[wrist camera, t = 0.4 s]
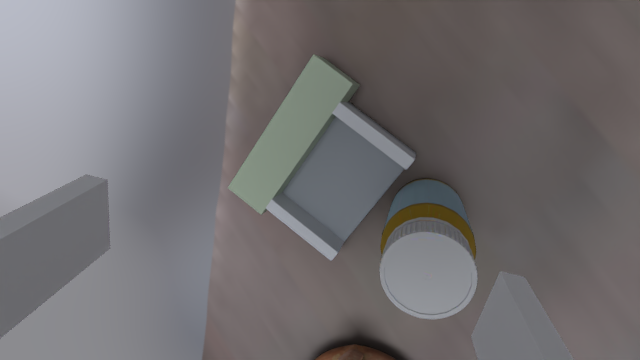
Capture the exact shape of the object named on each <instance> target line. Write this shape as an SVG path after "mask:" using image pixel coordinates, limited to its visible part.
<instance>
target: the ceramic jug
mask: <svg viewBox="0 0 640 360" xmlns="http://www.w3.org/2000/svg"><path fill="white" fill-rule="evenodd" d="M315 360H396V359H394V358H393V357H391V356H390V355H388V354H386V353H384V352H381V351H379V350H376V349H373V348H370V347H366V346H361V345H356V344H354V345H347V346H342V347H337V348H334V349H331V350H329V351H327V352H325V353H323V354H321V355H320V356H319V357H317V358H316V359H315Z"/></svg>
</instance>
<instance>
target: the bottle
mask: <svg viewBox="0 0 640 360" xmlns="http://www.w3.org/2000/svg"><path fill="white" fill-rule="evenodd" d="M381 253H382V257H381V261H380V267H379V270H380V272H379V274H380V279H381V284H382V287H383V289H384V291H385V293H386V295H387V296H388V298H389V299H390V300H391V301H392V302H393V303H394V304H395V305H396V306H397V307H398V308H399V309H401V310H402V311H404V312H406V313H408V314H410V315H412V316H415V317H419V318H423V319H441V318H445V317H449V316H451V315H453V314H456V313H457V312H459V311H460V310H462V309H463V308H464V307H465V306H466V305H467V304H468V303H469V302H470V300H471V299H472V297H473V295H474V293H475V290H476V287H477V282H478V280H477V278H478V275H477V273H478V272H477V267H476V263H475V256H476V246H475V240H474V235H473V232H472V229H471V227H470V224H469V221H468V218H467V215H466V212H465V209H464V206H463V203H462V201H461V200H460V198H459V196H458V194H457V193H456V192H455V191H454V190H453V189H452V188H451V187H450V186H449V185H447V184H445V183H443V182H441V181H439V180H434V179H419V180H415V181H412V182H410V183H408V184H406V185H405V186H403V187H402V188H401V189H400V190H399V191H398V193H397V194H396V196H395V198H394V200H393V202H392V205H391V208H390V211H389V214H388V217H387V220H386V224H385V227H384V230H383V233H382V239H381Z"/></svg>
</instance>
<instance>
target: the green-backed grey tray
mask: <svg viewBox="0 0 640 360" xmlns="http://www.w3.org/2000/svg"><path fill="white" fill-rule="evenodd" d="M359 86H360V85H359V84H358V83H357V82H355V81H354V80H353V79H351V78H350V77H349V76H347V75H346V74H345V73H343V72H342V71H341V70H339V69H338V68H337V67H335V66H334V65H333V64H331V63H330V62H329V61H327V60H326V59H325V58H322V57H319V56H317V55H314V54H313V56H312V57H311V59H310V61H309V62H308V64H307V65H306V67H305V68H304V70H303V71H302V73H301V75H300V76H299V78H298V79H297V81H296V82H295V84H294V85H293V87H292V89H291V90H290V92H289V93H288V95H287V96H286V98H285V99H284V101H283V103H282V104H281V106H280V107H279V109H278V110H277V112H276V114H275V115H274V117H273V118H272V120H271V121H270V123H269V124H268V126H267V128H266V129H265V131H264V132H263V134H262V135H261V137H260V138H259V140H258V142H257V143H256V145H255V146H254V148H253V149H252V151H251V152H250V154H249V156H248V157H247V159H246V160H245V162H244V163H243V165H242V166H241V168H240V170H239V171H238V173H237V174H236V176H235V177H234V179H233V180H232V182H231V184H230V185H229V187H228V188H229V189H230V190H231V191H232V192H234V193H235V194H236V195H237V196H238V197H240V198H241V199H242V200H243V201H245V202H246V203H247V204H248V205H250V206H251V207H252V208H253V209H255V210H256V211H257V212H258V213H260V214H261V215H262V214H263V213H264V212H266V211H267V210H268V211H270V212H271V213H272V214H273V215H275V216H276V217H277V218H278V219H279V220H281V221H282V222H283V223H284V224H286V225H287V226H288V227H289V228H291V229H292V230H293V231H294V232H296V233H297V234H298V235H299V236H301V237H302V238H303V239H304V240H306V241H307V242H308V243H309V244H311V245H312V246H313V247H314V248H316V249H317V250H318V251H319V252H321V253H322V254H323V255H324V256H325V257H327V258H328V259H329V260H330V261H332V260H333V258H334V257H335V256H336V255H337V253H338V252H339V250H340V249H341V247H342V245H343V243H344V242H345V240H346V239H347V238H348V237H349V235H350V234H351V233H352V232H353V231H354V229H355V228H356V227H357V226H358V225H359V223H360V222H361V221H362V220H363V218H364V217H365V216H366V215H367V214H368V212H369V211H370V210H371V209H372V208H373V206H374V205H375V204H376V203H377V201H378V200H379V199H380V198H381V197H382V195H383V194H384V193H385V192H386V190H387V189H388V188H389V187H390V186H391V184H392V183H393V182H394V181H395V180H396V178H397V177H398V176H399V175H400V173H401V172H402V171H403V170H404V169H406V170H407V169H408V168H409V166H410V165H411V164H412V163H413V162H414V160H415V157H416V153H415V152H414V151H413V150H411V149H410V148H409V147H408V146H406V145H405V144H404V143H402V142H401V141H400V140H398V139H397V138H396V137H394V136H393V135H392V134H390V133H389V132H388V131H386V130H385V129H384V128H382V127H381V126H380V125H378V124H377V123H376V122H374V121H373V120H372V119H370V118H369V117H368V116H367V115H365V114H364V113H363V112H361V111H360V110H359V109H357V108H356V107H355V106H353V105H352V104H351V103H349V100H350V99H351V97H352V96H353V95H354V93H355V92H356V90H357V89H358V88H359Z"/></svg>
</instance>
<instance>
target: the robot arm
mask: <svg viewBox="0 0 640 360" xmlns="http://www.w3.org/2000/svg"><path fill="white" fill-rule="evenodd" d="M109 249H110V232H109V205H108V181H107V179H102V178H99V177H94V176H90V175H84V176H83V177H80V178H78V179H76V180H74V181H72V182H70V183H68V184H66V185H64V186H62V187H60V188H58V189H56V190H54V191H52V192H50V193H48V194H46V195H44V196H42V197H40V198H38V199H36V200H34V201H33V202H30V203H28V204H26V205H24V206H22V207H20V208H18V209H16V210H14V211H12V212H10V213H8V214H6V215H4V216H2V217H1V218H0V338H1V337H3V336H4V335H5V334H6V333H7V332H9V331H10V330H11V329H12V328H14V327H15V326H16V325H17V324H18V323H20V322H21V321H22V320H23V319H24V318H26V317H27V316H28V315H29V314H31V313H32V312H33V311H34V310H36V309H37V308H38V307H39V306H40V305H42V304H43V303H44V302H45V301H47V299H49V298H50V297H51V296H53V295H54V294H55V293H56V292H57V291H59V290H60V289H61V288H62V287H64V286H65V285H66V284H67V283H68V282H70V281H71V280H72V279H73V278H74V277H76V276H77V275H78V274H79V273H80V272H82V271H83V270H84V269H85V268H87V267H88V266H89V265H90V264H91V263H93V262H94V261H95V260H97V259H98V258H99V257H100V256H101V255H103V254H104V253H105V252H106V251H107V250H109ZM471 338H472V342H473V345H474V348H475V352H476V355H477V358H478V360H574V359H573V357H572V356H571V354H570V352H569V351H568V349H567V347H566V346H565V344H564V342H563V341H562V339H561V337H560V336H559V334H558V332H557V331H556V329H555V327H554V325H553V324H552V322H551V320H550V319H549V317H548V315H547V314H546V312H545V310H544V309H543V307H542V305H541V304H540V302H539V300H538V299H537V297H536V295H535V293H534V292H533V290H532V288H531V287H530V285H529V283H528V282H527V280H526V278H525V277H523V276H519V275H515V274H510V273H506V272H502V271H500V273H499V275H498V277H497V279H496V281H495V284H494V286H493V288H492V290H491V293H490V295H489V297H488V299H487V302H486V304H485V306H484V308H483V311H482V313H481V315H480V317H479V320H478V322H477V324H476V326H475V329H474V331H473V333H472V335H471Z"/></svg>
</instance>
